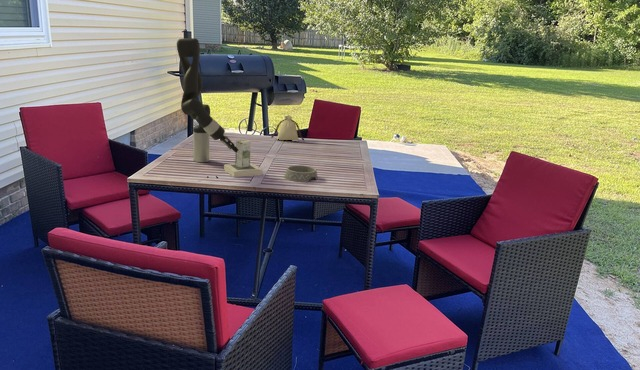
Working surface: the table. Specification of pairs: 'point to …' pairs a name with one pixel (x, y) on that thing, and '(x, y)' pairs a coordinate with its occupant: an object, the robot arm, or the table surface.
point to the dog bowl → (300, 173)
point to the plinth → (242, 170)
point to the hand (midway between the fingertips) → (234, 149)
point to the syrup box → (243, 153)
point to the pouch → (288, 130)
